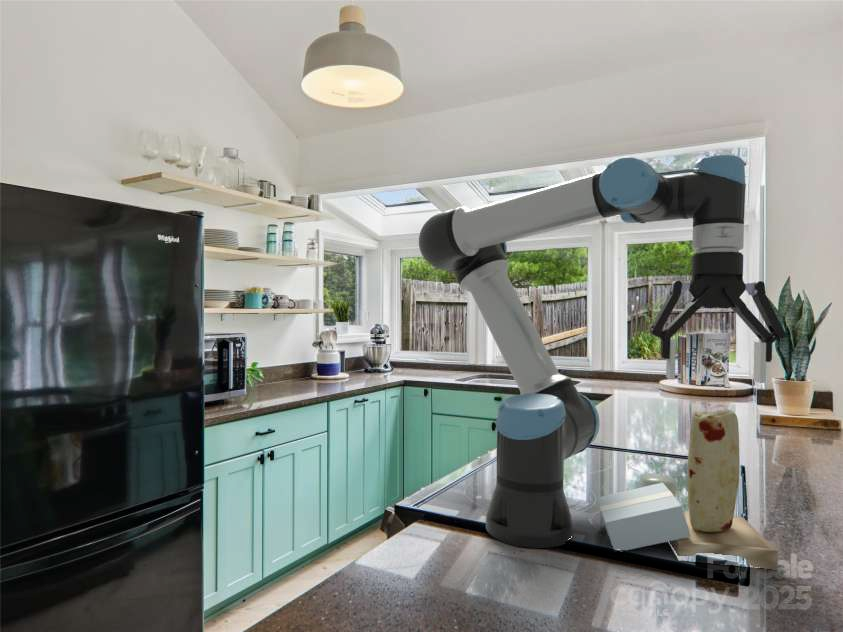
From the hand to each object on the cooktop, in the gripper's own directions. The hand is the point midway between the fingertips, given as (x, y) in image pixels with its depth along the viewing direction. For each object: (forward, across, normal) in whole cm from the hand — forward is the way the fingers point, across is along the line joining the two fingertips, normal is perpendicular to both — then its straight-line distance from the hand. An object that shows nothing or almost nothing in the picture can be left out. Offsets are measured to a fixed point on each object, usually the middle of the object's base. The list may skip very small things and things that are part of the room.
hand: (714, 380), depth 92 cm
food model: (+25, 0, 0) cm, 25 cm away
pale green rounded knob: (+28, -6, +13) cm, 31 cm away
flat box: (+26, -10, 0) cm, 28 cm away
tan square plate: (+28, 0, 0) cm, 28 cm away
